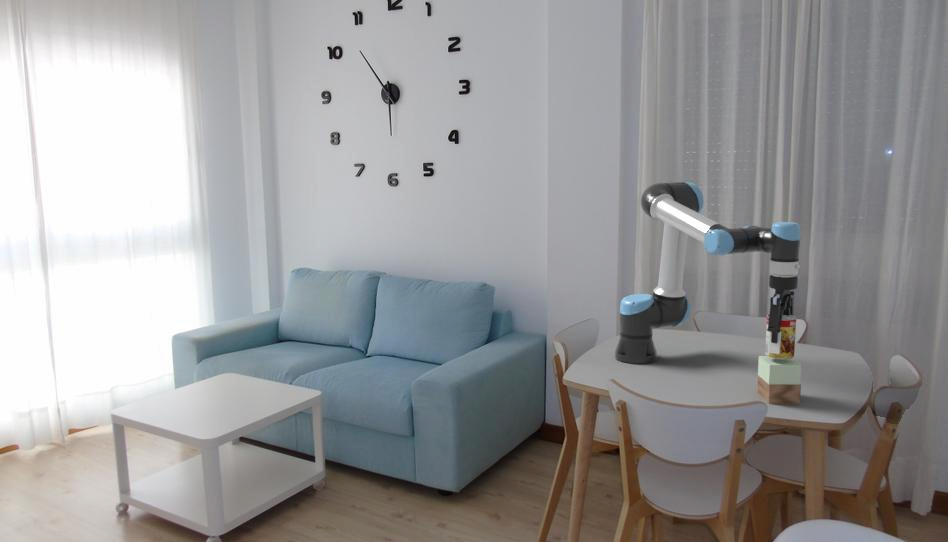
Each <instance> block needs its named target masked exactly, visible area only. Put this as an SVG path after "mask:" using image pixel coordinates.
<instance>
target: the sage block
mask: <svg viewBox="0 0 948 542" xmlns="http://www.w3.org/2000/svg"><path fill="white" fill-rule="evenodd" d="M757 361H758V367H757V376H758V375H759V376H760V377H761V378H762V379H763V380H764V381H765V382H767V383H768V384H769V385H800V384H801V382H802V381H801V379H802V378H801V377H802V376H801V375H802V364H801V363H800V362H798V361H797V360H795V359H794V358H792V359H775V358H771V357H768V356H766V355H758V360H757Z"/></svg>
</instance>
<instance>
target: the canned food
mask: <svg viewBox="0 0 948 542" xmlns="http://www.w3.org/2000/svg"><path fill="white" fill-rule="evenodd" d="M768 323H769V314H766V325H765V327H766V331H765V332H766V333H765V350H764V354H765V355H764V356H768V357H771V358H775V359H794V358H795V349H796V348H795V347H796V345H795V344H796V331H797V330H796V329H797V317H796V316H795V315H794V314H793V315H783V317H782V319H781V327H780V332H781V343H780V354H775V353H769V352H770V333H771V332H770V331H767V329H768Z"/></svg>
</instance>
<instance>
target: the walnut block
mask: <svg viewBox="0 0 948 542" xmlns="http://www.w3.org/2000/svg"><path fill="white" fill-rule="evenodd" d="M801 388H802V384H801V383H800V385H769V384H768V383H767V382H765V381H764V380H763V379H762V378H761V377H760V376H759V375H758V374H757V391H756V392H758V393H759V394H760V395H761V396H762V397H763V398H764V399H765V400H766V401H765V400H764V399H763V398H762V397H761V396H760V395H759V394H758V393H757V394H758V395H759V396H760V397H761V398H762V399H763V400H764V401H765V402H766V403H768V405H770V403H773V404H772V405H777V404H778V405H782V404H783V403H785V404H786V405H787V403H789V404H790V403H793V405H794V404H796V403H797V404H798V405H799V404H800V403H801V391H802V389H801ZM785 404H784V405H785ZM789 404H788V405H789ZM797 404H796V405H797ZM790 405H791V404H790Z"/></svg>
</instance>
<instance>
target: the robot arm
mask: <svg viewBox="0 0 948 542" xmlns="http://www.w3.org/2000/svg"><path fill="white" fill-rule="evenodd" d="M640 205H641V209H642V210H643V212H644V213H645V215H647V216H648V217H649V218H651V219H652V220H655V221H658V222H659V221H660V222H661V221H662V222H663V224H664V225H663V233H662V245H661V251H660V265H659V270H658V271H659V273H658V283H657V286H656V287H655V288H653V291H652V295H651V294H649V293H634V294H629V295H627V296H625V297H623V298H622V299H621V301H620V306H619V307H620V308H619V313H620V314H619V318H620V319H619V320H620V321H619V339H618V342H617V344H616V348H615V351H614V358H615V359H616V360H617V359H618V360H617V361H619V360H620V361H619V362H622V361H623V362H622V363H626V362H627V363H626V364H636V365H637V364H639V365H640V364H641V365H642V364H643V365H644V364H650V363H654V362H656V361H657V359H658V353H657V349H656V346H655V342H654V339H653V330H654V329H662V328H663V329H664V328H670V327H672V328H673V327H676V326H681V325H683V324H684V323H686V322H687V321H688V320H689V318H690V315H691V309H692V308H691V304H690V300H689V298H688V297H687V296H686V292H685V291H684V290H683V284H684V283H683V281H684V271H685V265H686V264H685V263H686V257H687V256H686V255H687V247H688V239H689V236H690V237H691V238H693V239H695V240H697V241H699V242H700V243H702V244H703V247H704V249H706V252H707V253H709V254H710V255H712V256H713V255H714V256H725V255H731V254H732V255H734V254H743V253H744V254H745V253H754V252H755V253H756V252H758V253H759V252H761V253H767V254H770V260H769V261H770V262H769V274H771V275H769V281H768V287H769V288H771V289H773V290H774V291H775V292H774V294H773V297H772V296H771V297H770V298H769V301H770V302H769V303H770V305H769V313H768V315H769V323H768V329H767V331H770V332H771V333H770V352H769V353H775V354H780V343H781V332H780V327H781V319H782V317H783V315H793V316H794V299H795V298H794V297H795V291H794V290H796V289H797V288H798V280H799V277H798V276H797V275H798V273H799V269H800V268H801V264H799V260H800V259H799V256H800V247H801V239H802V237H801V226H800V224H799V223H797V222H792V221H791V222H790V221H777V222H774V223H772V225H771V227H764V226H758V225H746V226H743V227H738V228H737V227H736V228H729V227H726V226H725V225H722V224H720V223H719V222H716V221H715V220H713V219H710V218H709V217H707V216H705V215H703V214H701V211H702V209H703V206H704V195H703V192H702V190H701V189H700V187H699V186H698V185H697V184H695V183H693V182H687V181H686V182H685V181H677V182H675V181H674V182H657V183H653V184H652V185H649V186H648V187H647V188H646V189H645V190H644V191H643V193H642V195H641V198H640Z"/></svg>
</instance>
